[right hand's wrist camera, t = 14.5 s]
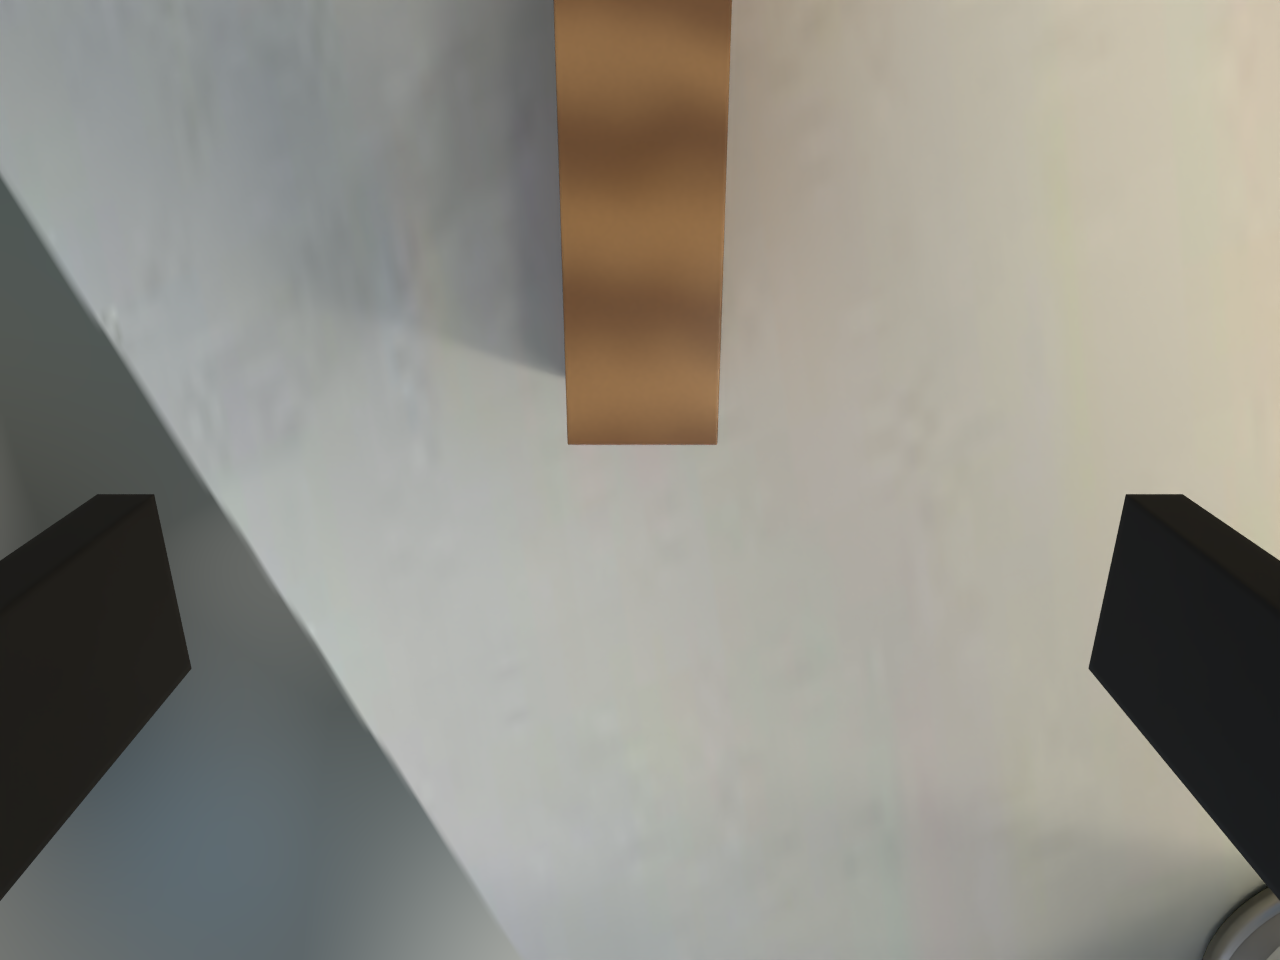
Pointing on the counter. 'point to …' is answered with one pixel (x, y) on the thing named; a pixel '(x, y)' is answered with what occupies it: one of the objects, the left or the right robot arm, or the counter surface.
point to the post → (642, 215)
